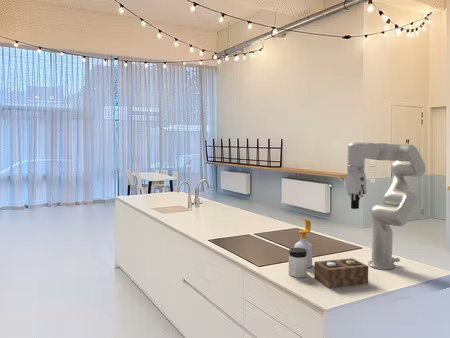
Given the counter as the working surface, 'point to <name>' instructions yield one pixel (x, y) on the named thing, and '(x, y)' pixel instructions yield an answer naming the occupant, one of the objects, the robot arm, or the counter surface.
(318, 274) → the walnut block
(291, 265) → the jar
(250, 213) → the counter surface
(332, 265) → the white peg
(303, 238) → the soap bottle
